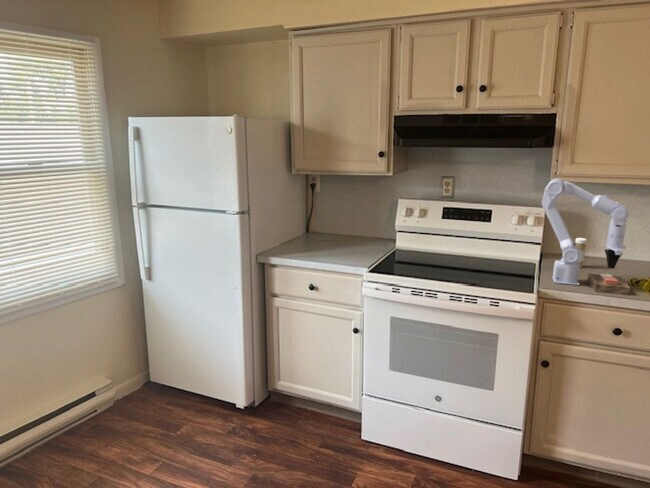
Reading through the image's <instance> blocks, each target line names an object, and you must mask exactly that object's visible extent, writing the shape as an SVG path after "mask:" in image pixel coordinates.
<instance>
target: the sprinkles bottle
mask: <svg viewBox="0 0 650 488" xmlns="http://www.w3.org/2000/svg"><path fill="white" fill-rule="evenodd" d="M587 240H588V239H587V238H584V237H576V238H575V241H574V243H575V244H576V245H577V246H578V247H579V248H580V254H579V255H580V257H579V259H578V260H579V261H580V266H579V269H581V268H583V267H584V260H585V252H586V246H587Z"/></svg>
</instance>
